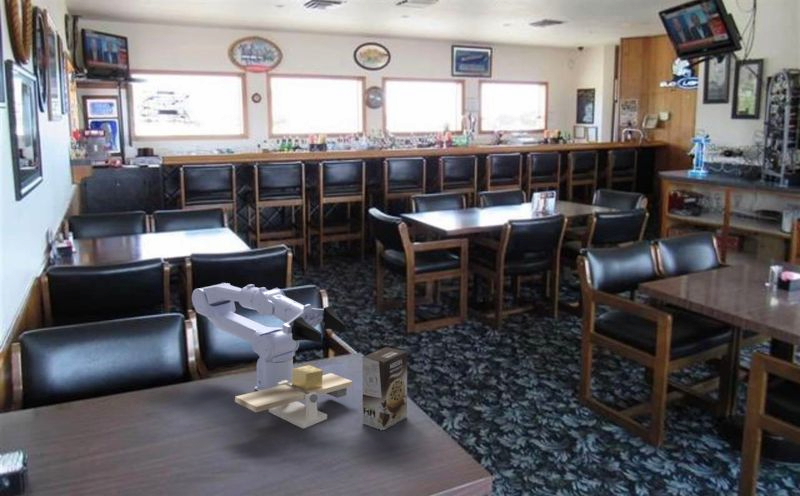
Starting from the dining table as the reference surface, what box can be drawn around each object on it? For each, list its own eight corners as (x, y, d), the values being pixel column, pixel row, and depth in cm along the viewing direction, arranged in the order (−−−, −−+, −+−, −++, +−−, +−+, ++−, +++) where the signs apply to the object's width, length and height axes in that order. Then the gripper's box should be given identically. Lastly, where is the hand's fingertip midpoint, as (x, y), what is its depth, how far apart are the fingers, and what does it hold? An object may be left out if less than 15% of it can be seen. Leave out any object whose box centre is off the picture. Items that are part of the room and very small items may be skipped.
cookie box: (383, 431, 145) (383, 362, 142) (361, 423, 148) (360, 356, 145) (408, 417, 152) (408, 351, 149) (386, 410, 156) (386, 345, 153)
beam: (234, 412, 145) (234, 395, 144) (329, 386, 165) (330, 372, 165) (256, 423, 139) (256, 406, 139) (352, 395, 160) (353, 380, 159)
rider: (291, 385, 154) (292, 368, 153) (308, 381, 157) (309, 365, 157) (305, 390, 150) (306, 373, 150) (321, 386, 154) (322, 370, 154)
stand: (268, 411, 155) (267, 384, 153) (292, 402, 160) (291, 376, 158) (303, 428, 146) (302, 399, 145) (327, 418, 151) (326, 390, 150)
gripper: (270, 306, 153) (310, 326, 144) (316, 291, 163) (355, 308, 155) (270, 333, 155) (308, 354, 147) (315, 316, 166) (353, 335, 157)
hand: (332, 333), depth 151 cm, fingers open, 7 cm apart
